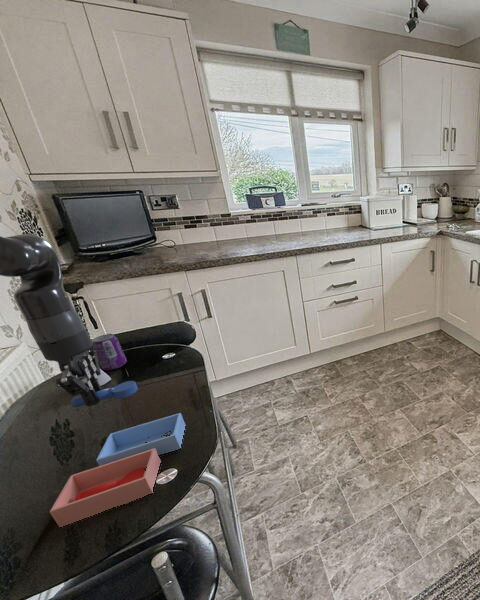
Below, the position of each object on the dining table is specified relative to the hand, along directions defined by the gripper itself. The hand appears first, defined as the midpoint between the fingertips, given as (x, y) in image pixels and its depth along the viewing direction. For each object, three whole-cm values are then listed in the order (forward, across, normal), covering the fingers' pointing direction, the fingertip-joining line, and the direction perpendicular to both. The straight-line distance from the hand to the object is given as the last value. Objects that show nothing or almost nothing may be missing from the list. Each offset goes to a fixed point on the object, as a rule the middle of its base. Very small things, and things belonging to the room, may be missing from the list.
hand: (96, 400), depth 74 cm
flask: (+15, -44, -18) cm, 50 cm away
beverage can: (+15, -55, -16) cm, 59 cm away
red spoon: (+15, +13, +2) cm, 20 cm away
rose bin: (+16, +13, +2) cm, 21 cm away
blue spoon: (0, 0, +2) cm, 2 cm away
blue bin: (+16, +2, +5) cm, 17 cm away
